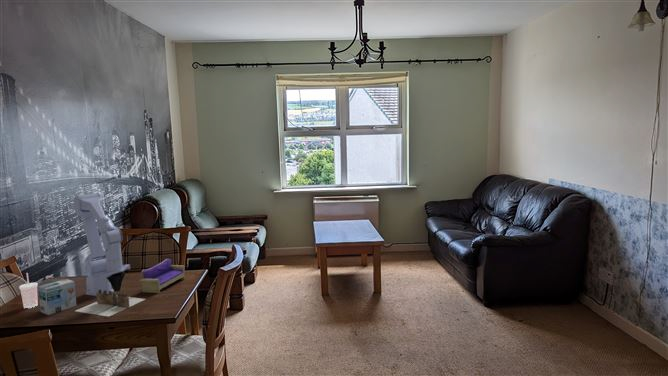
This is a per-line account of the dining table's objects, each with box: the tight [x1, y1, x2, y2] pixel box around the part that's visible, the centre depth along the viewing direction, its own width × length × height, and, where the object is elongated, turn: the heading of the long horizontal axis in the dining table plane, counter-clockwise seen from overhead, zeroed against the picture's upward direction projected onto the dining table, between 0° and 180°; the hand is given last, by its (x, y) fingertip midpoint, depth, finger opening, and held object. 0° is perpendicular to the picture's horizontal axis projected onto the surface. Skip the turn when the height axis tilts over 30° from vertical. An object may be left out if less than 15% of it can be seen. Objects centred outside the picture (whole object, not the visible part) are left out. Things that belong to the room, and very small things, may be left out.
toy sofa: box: [139, 258, 186, 294], centre depth 190 cm, size 21×9×10 cm, turn 166°
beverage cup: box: [18, 272, 39, 309], centre depth 170 cm, size 6×6×14 cm
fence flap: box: [95, 290, 117, 305], centre depth 168 cm, size 10×1×5 cm, turn 69°
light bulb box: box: [37, 278, 77, 316], centre depth 165 cm, size 11×7×11 cm, turn 148°
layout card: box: [75, 296, 146, 317], centre depth 168 cm, size 18×18×1 cm
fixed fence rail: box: [116, 292, 130, 309], centre depth 166 cm, size 5×1×5 cm, turn 69°
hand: (117, 290), depth 173 cm, fingers closed
